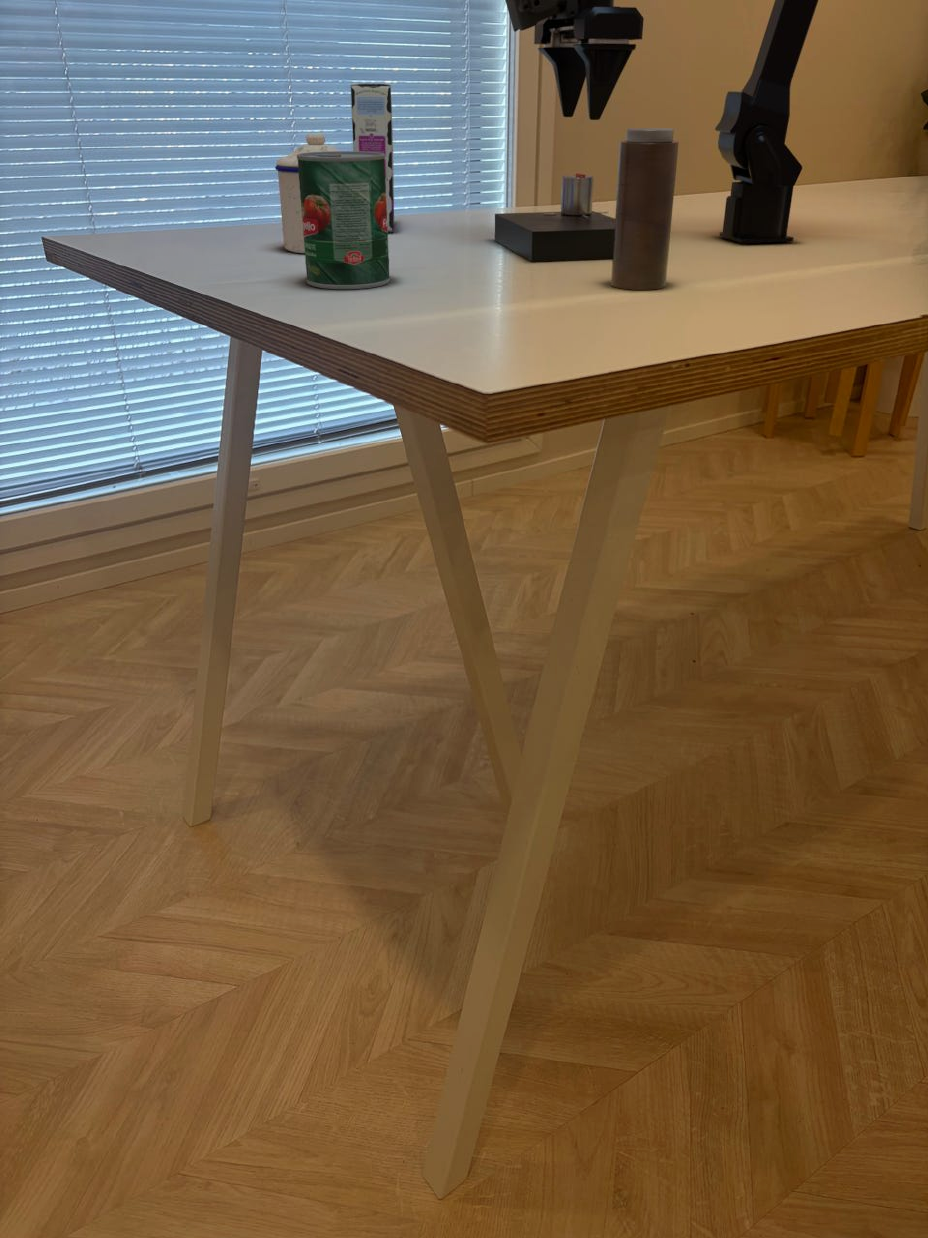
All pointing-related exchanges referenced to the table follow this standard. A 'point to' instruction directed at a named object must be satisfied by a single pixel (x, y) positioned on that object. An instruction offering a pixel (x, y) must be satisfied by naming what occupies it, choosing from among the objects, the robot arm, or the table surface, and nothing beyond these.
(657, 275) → the salt mill
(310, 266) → the canned tomato
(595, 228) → the stove
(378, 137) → the candy bar box
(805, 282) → the table surface
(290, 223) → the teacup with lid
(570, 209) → the knob
